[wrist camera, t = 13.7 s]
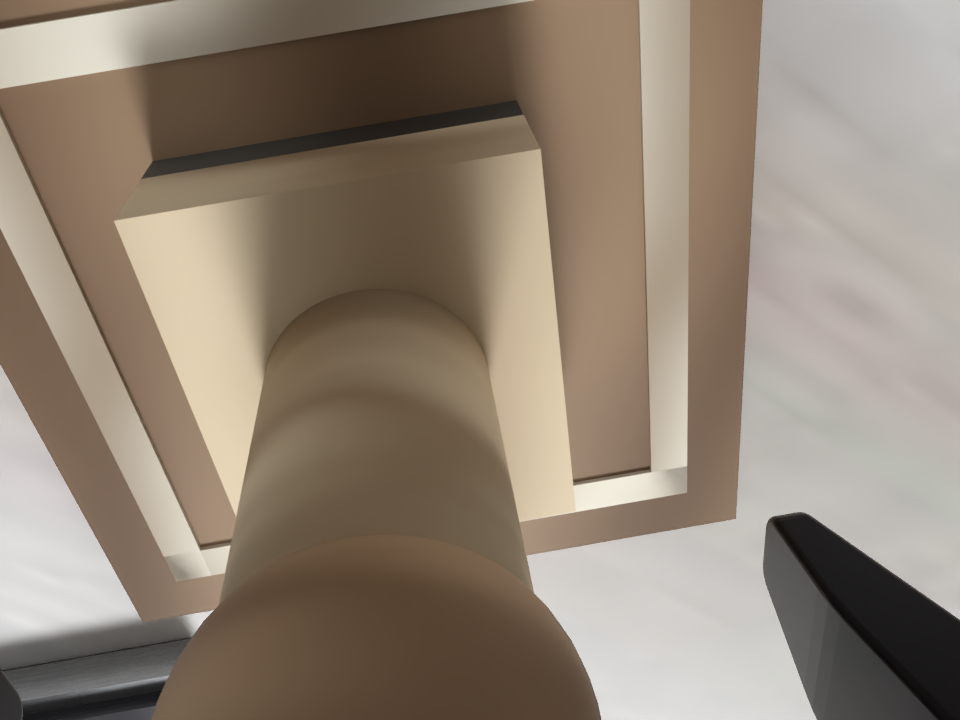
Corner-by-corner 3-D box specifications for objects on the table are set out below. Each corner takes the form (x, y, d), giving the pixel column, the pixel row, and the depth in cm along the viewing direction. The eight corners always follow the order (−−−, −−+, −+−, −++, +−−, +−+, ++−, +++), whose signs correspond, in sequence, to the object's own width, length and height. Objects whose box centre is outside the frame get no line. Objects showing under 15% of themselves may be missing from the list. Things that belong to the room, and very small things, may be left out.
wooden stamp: (270, 481, 17) (151, 1220, 8) (152, 161, 13) (-322, 888, 4) (552, 431, 17) (750, 1112, 8) (516, 100, 14) (808, 686, 4)
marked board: (149, 601, 20) (142, 625, 19) (-194, -39, 12) (-222, -31, 11) (726, 501, 20) (737, 521, 19) (756, -194, 12) (775, -194, 12)
